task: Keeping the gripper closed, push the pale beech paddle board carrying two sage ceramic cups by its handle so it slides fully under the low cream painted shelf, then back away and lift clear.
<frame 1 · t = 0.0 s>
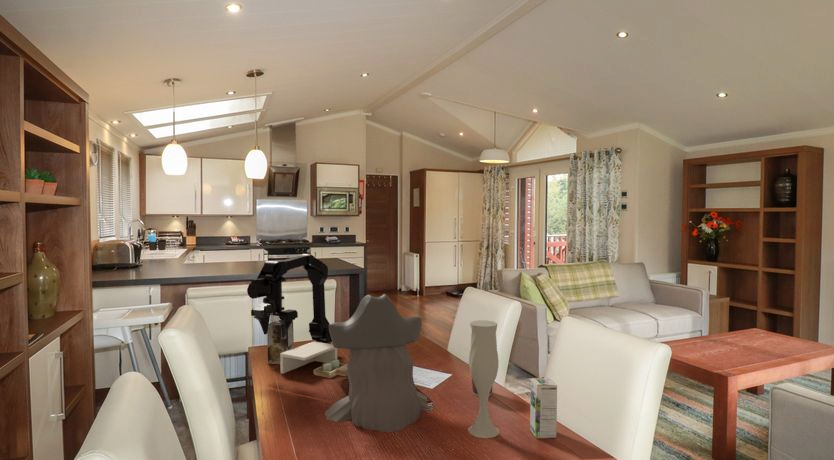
hand: (274, 335, 177), 15 cm above the table, fingers open, 9 cm apart
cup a: (335, 370, 181), resting on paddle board
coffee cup: (482, 393, 158), on the table
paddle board: (331, 373, 179), on the table, touching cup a, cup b
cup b: (327, 373, 177), resting on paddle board
bust: (380, 408, 147), on the table
coffee box: (280, 362, 193), on the table
counter shelf: (309, 369, 183), on the table
vase: (483, 431, 131), on the table
syrup box: (543, 434, 129), on the table
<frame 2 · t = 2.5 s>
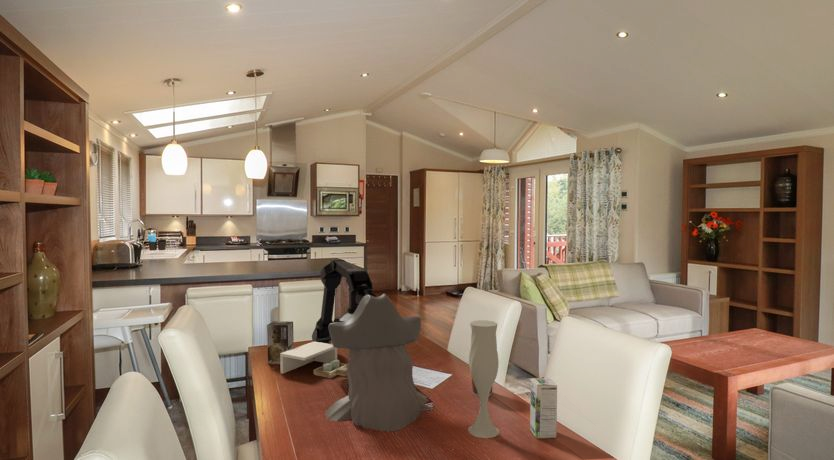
hand: (358, 346, 173), 12 cm above the table, fingers closed
nothing on the table moved.
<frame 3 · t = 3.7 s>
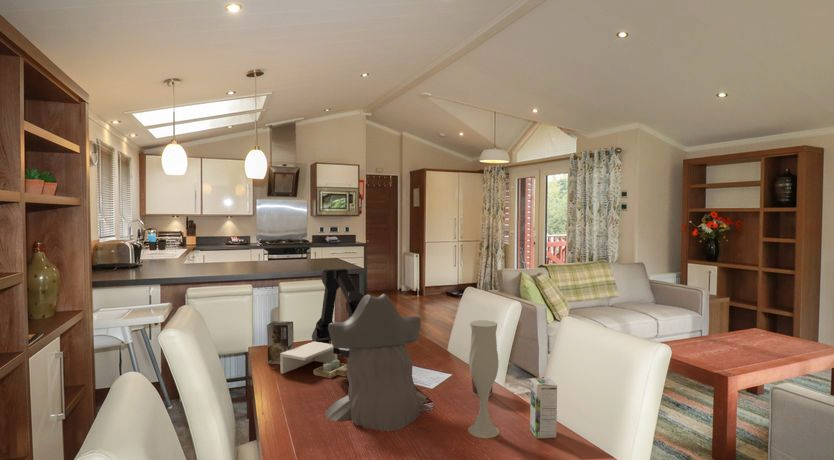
hand: (357, 374, 173), 1 cm above the table, fingers closed
nothing on the table moved.
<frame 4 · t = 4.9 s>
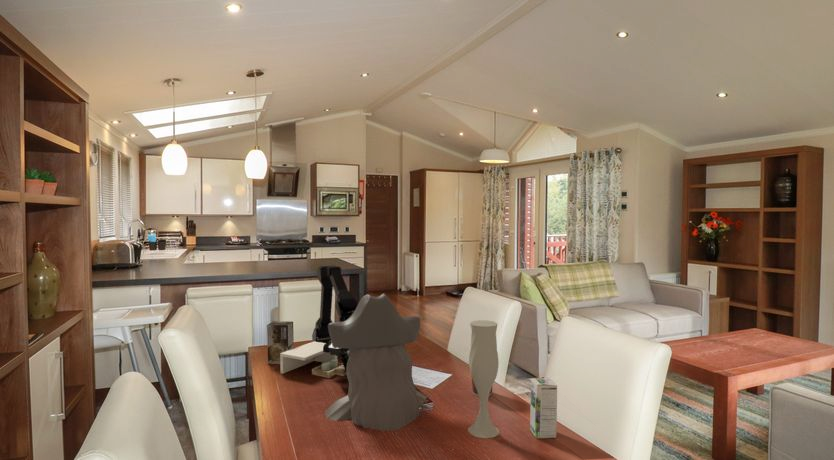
hand: (347, 372, 175), 1 cm above the table, fingers closed
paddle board: (329, 372, 179), on the table, touching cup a, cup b, gripper
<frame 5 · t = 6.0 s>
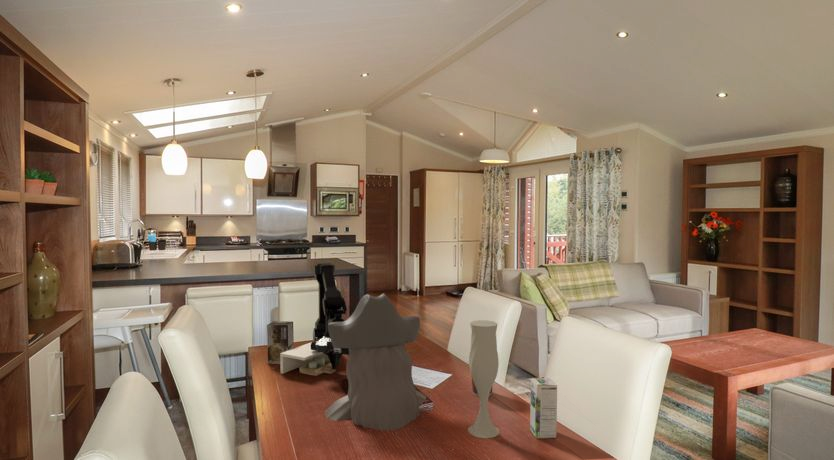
hand: (334, 369, 178), 2 cm above the table, fingers closed
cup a: (320, 367, 184), point 1 cm above the table, touching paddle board
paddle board: (317, 371, 181), on the table, touching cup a, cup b, gripper
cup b: (313, 371, 179), point 1 cm above the table, touching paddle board
everything else where it was.
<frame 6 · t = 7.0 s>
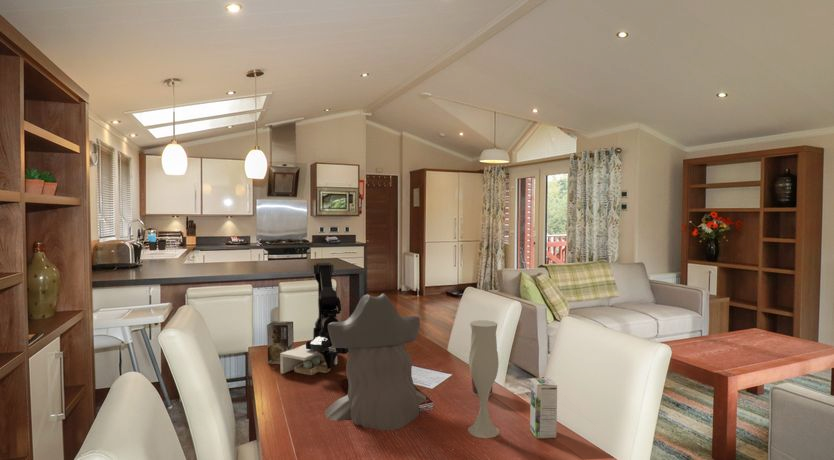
hand: (329, 368, 179), 2 cm above the table, fingers closed
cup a: (315, 366, 184), point 1 cm above the table, touching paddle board
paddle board: (311, 370, 182), on the table, touching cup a, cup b, gripper
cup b: (307, 370, 180), point 1 cm above the table, touching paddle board
everything else where it was.
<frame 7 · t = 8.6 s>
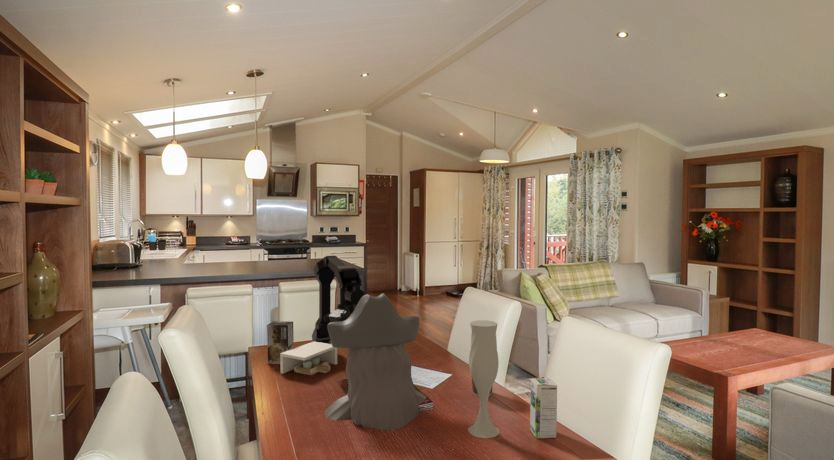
hand: (347, 341, 178), 12 cm above the table, fingers closed
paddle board: (311, 370, 182), on the table, touching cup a, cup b
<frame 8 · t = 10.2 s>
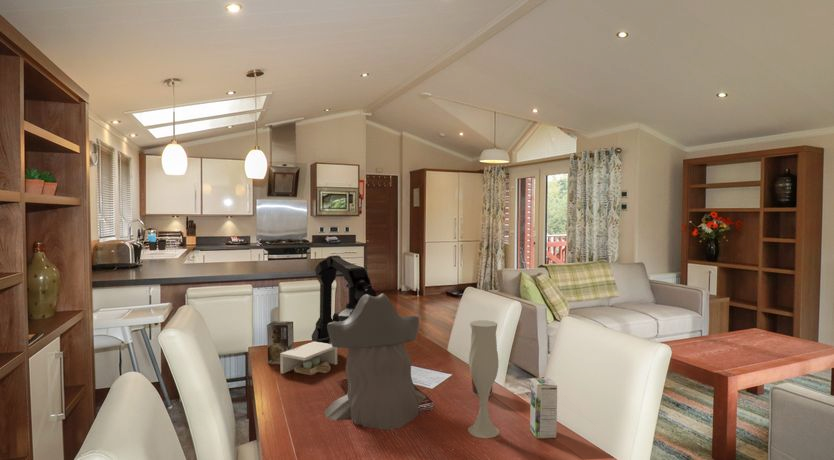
hand: (356, 340, 180), 12 cm above the table, fingers closed
at the end: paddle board inside the target area on the counter shelf (0.7 cm from its centre), point 0.0 cm above the counter shelf's base; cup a 2.4 cm from the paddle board (horizontally); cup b 2.5 cm from the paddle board (horizontally) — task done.
